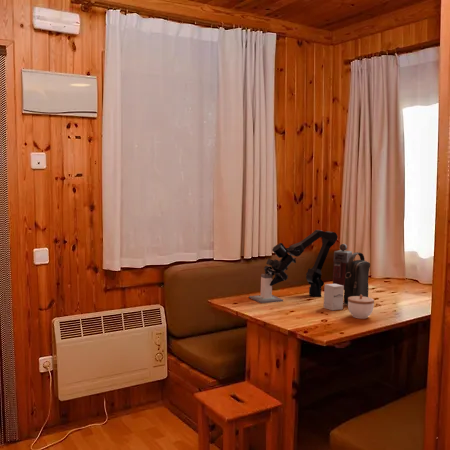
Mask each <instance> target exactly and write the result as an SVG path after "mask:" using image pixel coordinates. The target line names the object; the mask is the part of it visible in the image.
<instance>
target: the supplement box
mask: <svg viewBox="0 0 450 450" xmlns="http://www.w3.org/2000/svg"><path fill="white" fill-rule="evenodd" d="M323 288H324V290H323V291H324V292H323V308H324V309H326V310H330V311H337V310H343V308H344V305H343V303H344V286H343V285H339V284H333V283H326V284H325V283H324V286H323Z"/></svg>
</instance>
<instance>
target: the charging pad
mask: <svg viewBox="0 0 450 450" xmlns="http://www.w3.org/2000/svg"><path fill="white" fill-rule="evenodd" d="M248 298H249V299H250V300H253V301H256V302H257V303H259V304H269V303H280V302H284V299H282V298H281V297H278V296H276V295H273V294H272V298H267V299H264V298H262V297H261V294H260V295H259V294H257V295H249V297H248Z"/></svg>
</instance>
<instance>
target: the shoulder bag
mask: <svg viewBox="0 0 450 450" xmlns="http://www.w3.org/2000/svg"><path fill="white" fill-rule="evenodd" d="M357 255H358V257H359V259H356V260H355V258H356V256H357ZM370 268H371V263H370V262H369V261H367V260H365V256H364V254H363V253H362V252H352V254H351V256H350V258H349V261H348V262H347V263H346V268H345V288H344V294H343V306H348V297H351V296H360V295H362V296H363V297H369V273H370Z"/></svg>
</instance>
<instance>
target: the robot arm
mask: <svg viewBox="0 0 450 450" xmlns="http://www.w3.org/2000/svg"><path fill="white" fill-rule="evenodd" d="M320 238H321V242H322V244H321V248H320V249H319V252H318V255H317V256H316V258H315V259H316V260H315V261H314V263H313V266H312V267H311V268H308V269H307V272H306V274H305V275H306V276H305V279H306V281H307V283H308V285H310V286H309V287H308V295H309V296H310V297H314V298H315V297H318V298H321V297H322V287H324V286H325V282H324V281H323V280H322V269H323V267H324V264H325V261H326V259H327V256H328V254H329V252H330V249H331V247H333V246H334V245H335V244H336V242H337V240H338V235H337V232H334V231H325V230H324V231H323V230H321V229H315V230H314V231H313V232H311V234H309V235H308V236H306V237H304V239H302V240H301V241H299V242H296V243H293V244H291V245H289V246H288V247H286V246H285V245H284V244H283V243H282V242H279V243H278V244H276V245H274V246H273V247H272V252H273V253H274V255H276V257H277V258H278V259H279V258H280V260H278V259H272V258H268V259H267V260H266V263H265V264H266V265H265V266H264V268H263V270H264V274H271V275H272V281H271V283H270V286H272V287H273V286H274V285H277V284H279V283H281V282H284V281H287V280H288V279H289V275H288V274H287V273H286V272H285V271H287V270H288V269H289V266H290V265H291V263H294V264H296V263H297V258H296V257H300V256H301V255H302V254H303V253H304V251H305V250H306V248H308V247H309V246H310V245H312V244H313V243H314V242H316V241H317V240H319V239H320Z"/></svg>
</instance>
